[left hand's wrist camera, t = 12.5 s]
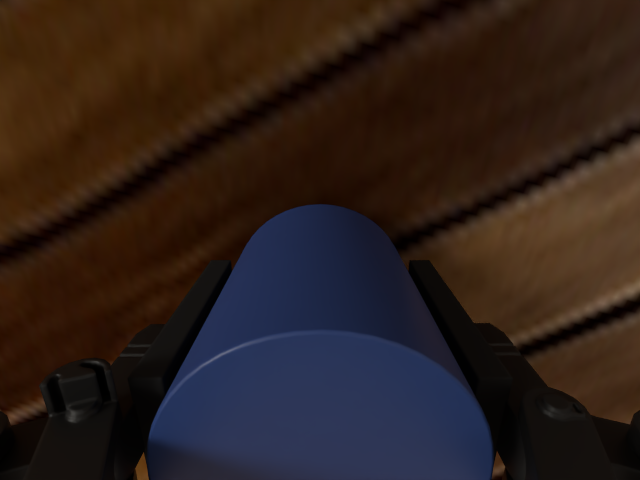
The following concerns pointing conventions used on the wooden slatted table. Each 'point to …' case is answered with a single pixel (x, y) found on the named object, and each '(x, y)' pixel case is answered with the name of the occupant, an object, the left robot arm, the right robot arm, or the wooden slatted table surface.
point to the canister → (320, 369)
